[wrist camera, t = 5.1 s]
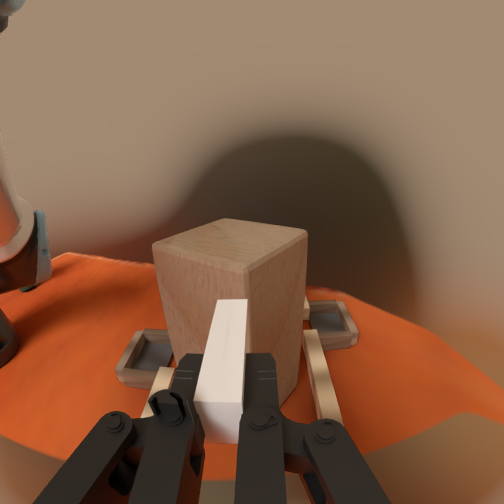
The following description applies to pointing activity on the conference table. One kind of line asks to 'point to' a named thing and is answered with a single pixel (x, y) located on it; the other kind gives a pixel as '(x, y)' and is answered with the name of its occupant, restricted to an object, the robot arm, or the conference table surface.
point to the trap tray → (314, 343)
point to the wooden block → (236, 288)
